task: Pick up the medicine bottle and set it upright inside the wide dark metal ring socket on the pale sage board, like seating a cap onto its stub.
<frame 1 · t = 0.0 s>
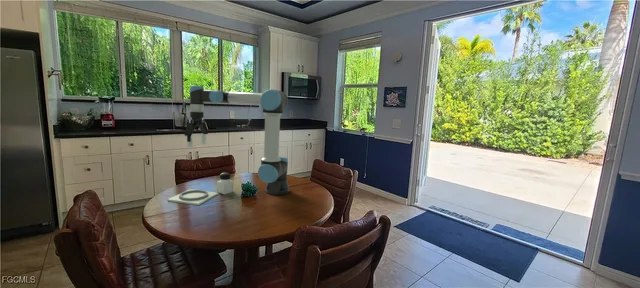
hand: (197, 145, 168), 28 cm above the table, fingers open, 13 cm apart
medicine bottle: (225, 192, 169), on the table
socket board: (194, 197, 157), on the table
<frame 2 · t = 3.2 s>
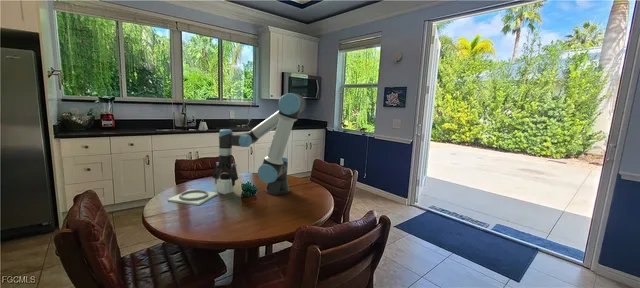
hand: (225, 189, 169), 1 cm above the table, fingers closed on medicine bottle, 9 cm apart
medicine bottle: (225, 192, 169), on the table, touching gripper
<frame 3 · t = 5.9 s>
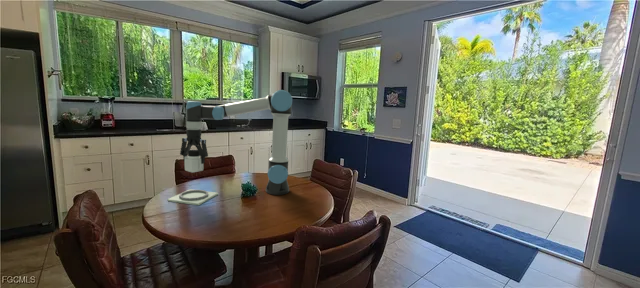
hand: (194, 168, 154), 18 cm above the table, fingers closed on medicine bottle, 9 cm apart
medicine bottle: (194, 170, 155), point 16 cm above the table, touching gripper
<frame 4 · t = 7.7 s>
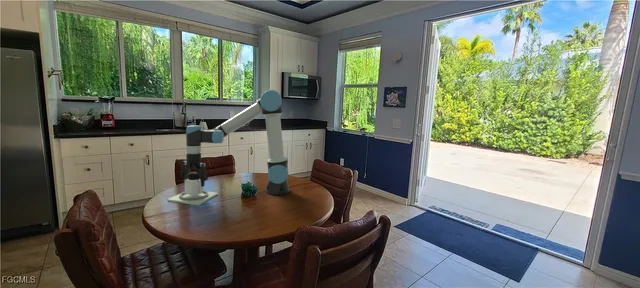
hand: (194, 190, 156), 4 cm above the table, fingers closed on medicine bottle, 9 cm apart
medicine bottle: (194, 193, 156), point 2 cm above the table, touching gripper
when the fingers open (4 cm above the table, at t = 8.9 s): medicine bottle drops 1 cm, resting on socket board.
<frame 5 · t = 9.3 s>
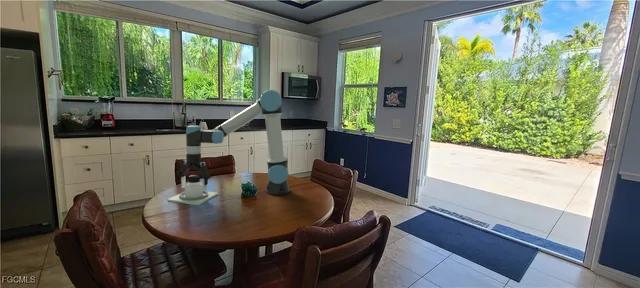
hand: (194, 188, 156), 5 cm above the table, fingers open, 13 cm apart
medicine bottle: (194, 196, 157), point 1 cm above the table, touching socket board
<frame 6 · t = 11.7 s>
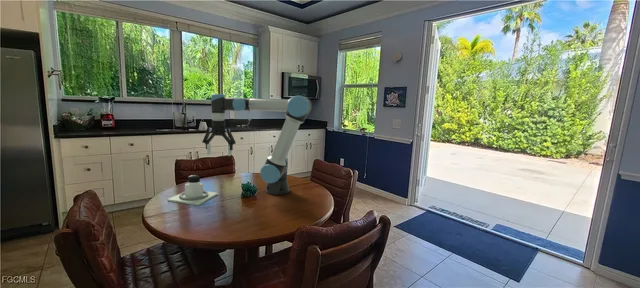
hand: (219, 155, 164), 24 cm above the table, fingers open, 13 cm apart
nothing on the table moved.
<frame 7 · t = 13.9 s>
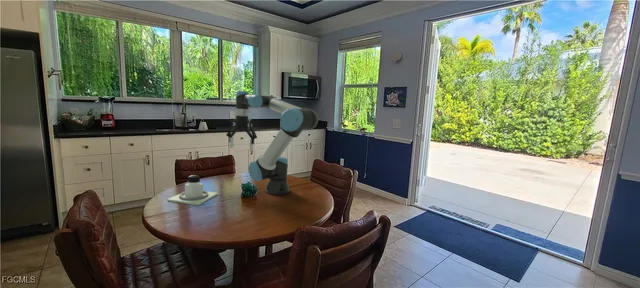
hand: (241, 148, 175), 27 cm above the table, fingers open, 13 cm apart
nothing on the table moved.
at the end: medicine bottle 0.1 cm from the socket board (horizontally); medicine bottle tilted 0°; the gripper is holding nothing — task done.
